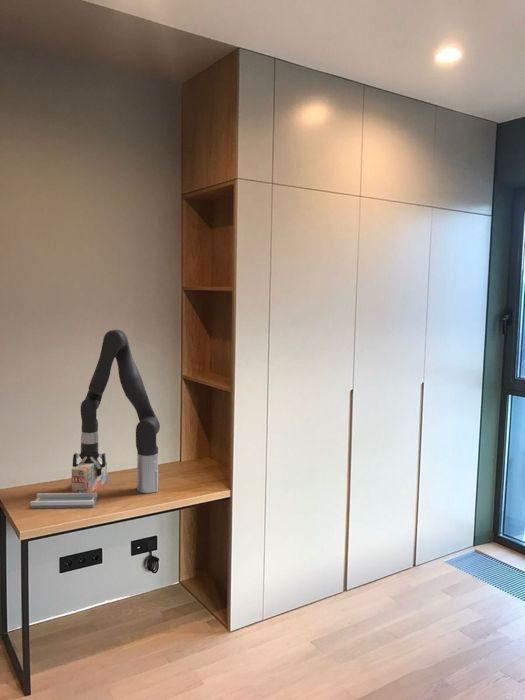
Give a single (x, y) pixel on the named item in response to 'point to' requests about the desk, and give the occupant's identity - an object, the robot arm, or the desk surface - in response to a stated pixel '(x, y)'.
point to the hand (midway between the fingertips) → (89, 475)
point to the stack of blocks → (87, 477)
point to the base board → (64, 500)
